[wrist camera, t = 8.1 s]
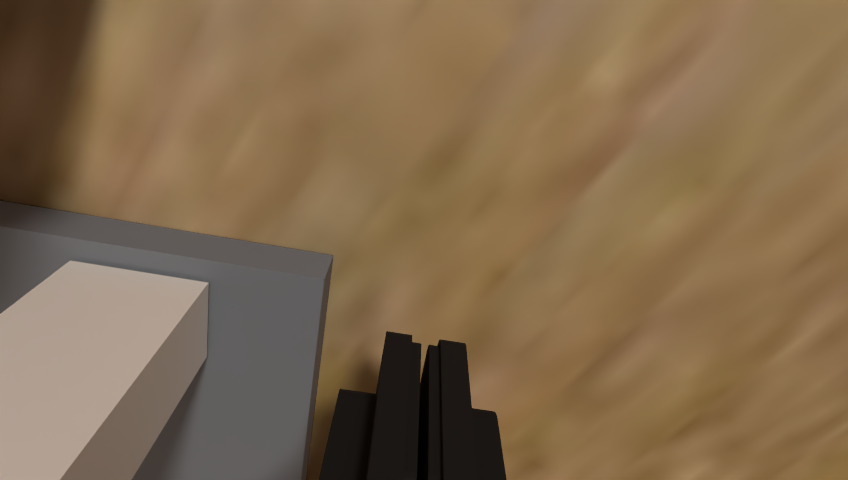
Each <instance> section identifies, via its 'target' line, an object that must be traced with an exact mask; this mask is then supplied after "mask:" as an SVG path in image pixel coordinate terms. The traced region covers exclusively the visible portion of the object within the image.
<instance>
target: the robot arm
mask: <svg viewBox="0 0 848 480" xmlns="http://www.w3.org/2000/svg"><path fill="white" fill-rule="evenodd" d="M420 367H421V344H420V343H414V342H412V335H407V334H401V333H394V332H388V331H387V332H386V337H385V343H384V349H383V355H382V361H381V366H380V372H379V378H378V384H377V389H376V394H371V393H364V392H358V391H351V390H344V389H340V390H339V394H338V398H337V403H336V407H335V411H334V416H333V420H332V424H331V429H330V433H329V438H328V442H327V446H326V451H325V455H324V460H323V464H322V468H321V473H320V477H319V480H506V474H505V467H504V460H503V453H502V447H501V440H500V433H499V426H498V420H497V415H496V413H495V412H493V411H487V410H480V409H473V408H472V406H471V395H470V384H469V373H468V362H467V351H466V344H465V343H459V342H453V341H446V340H439V342H438V346H433V345H429V346H428V349H427V354H426V358H425V363H424V368H423V373H422V377H421V382H420Z"/></svg>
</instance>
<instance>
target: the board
mask: <svg viewBox="0 0 848 480" xmlns="http://www.w3.org/2000/svg"><path fill="white" fill-rule="evenodd" d="M70 260H71V261H77V262H83V263H89V264H96V265H102V266H108V267H114V268H121V269H127V270H133V271H139V272H146V273H152V274H158V275H164V276H170V277H177V278H183V279H189V280H195V281H202V282H208V283H209V287H208V332H207V357H206V359H205V361H204V362H203V364H202V365H201V367H200V369H199V370H198V372H197V374H196V375H195V377H194V379H193V380H192V382H191V383H190V385H189V387H188V388H187V390H186V392H185V393H184V395H183V397H182V398H181V400H180V401H179V403H178V405H177V406H176V408H175V410H174V411H173V413H172V415H171V416H170V418H169V419H168V421H167V423H166V424H165V426H164V428H163V429H162V431H161V433H160V434H159V436H158V437H157V439H156V441H155V442H154V444H153V446H152V447H151V449H150V451H149V452H148V454H147V455H146V457H145V459H144V460H143V462H142V464H141V465H140V467H139V469H138V470H137V472H136V473H135V475H134V477H133V478H132V480H306V476H307V468H308V460H309V452H310V443H311V435H312V427H313V419H314V410H315V402H316V394H317V386H318V378H319V369H320V361H321V353H322V345H323V336H324V328H325V320H326V312H327V303H328V295H329V287H330V279H331V271H332V262H333V255H328V254H322V253H316V252H310V251H303V250H297V249H291V248H285V247H279V246H273V245H267V244H261V243H255V242H249V241H243V240H237V239H231V238H225V237H218V236H212V235H206V234H200V233H194V232H188V231H182V230H176V229H170V228H164V227H158V226H152V225H146V224H140V223H133V222H127V221H121V220H115V219H109V218H103V217H97V216H91V215H85V214H79V213H73V212H67V211H61V210H55V209H48V208H42V207H36V206H30V205H24V204H18V203H12V202H6V201H0V314H1V313H2V312H3V311H5V310H6V309H7V308H9V307H10V306H11V305H13V304H14V303H15V302H17V301H18V300H19V299H20V298H22V297H23V296H24V295H26V294H27V293H28V292H30V291H31V290H32V289H34V288H35V287H36V286H37V285H39V284H40V283H41V282H43V281H44V280H45V279H47V278H48V277H49V276H51V275H52V274H53V273H54V272H56V271H57V270H58V269H60V268H61V267H62V266H64V265H65V264H66V263H68V262H69V261H70Z"/></svg>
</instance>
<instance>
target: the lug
mask: <svg viewBox="0 0 848 480" xmlns="http://www.w3.org/2000/svg"><path fill="white" fill-rule="evenodd" d="M208 287H209V283H208V282H202V281H195V280H189V279H183V278H177V277H170V276H164V275H158V274H152V273H146V272H139V271H133V270H127V269H121V268H114V267H108V266H102V265H96V264H89V263H83V262H77V261H71V260H70V261H69V262H68V263H66V264H65V265H64V266H62V267H61V268H60V269H58V270H57V271H56V272H54V273H53V274H52V275H51V276H49V277H48V278H47V279H45V280H44V281H43V282H41V283H40V284H39V285H37V286H36V287H35V288H34V289H32V290H31V291H30V292H28V293H27V294H26V295H24V296H23V297H22V298H20V299H19V300H18V301H17V302H15V303H14V304H13V305H11V306H10V307H9V308H7V309H6V310H5V311H3V312H2V313H1V314H0V480H132V478H133V477H134V475H135V473H136V472H137V470H138V469H139V467H140V465H141V464H142V462H143V460H144V459H145V457H146V455H147V454H148V452H149V451H150V449H151V447H152V446H153V444H154V442H155V441H156V439H157V437H158V436H159V434H160V433H161V431H162V429H163V428H164V426H165V424H166V423H167V421H168V419H169V418H170V416H171V415H172V413H173V411H174V410H175V408H176V406H177V405H178V403H179V401H180V400H181V398H182V397H183V395H184V393H185V392H186V390H187V388H188V387H189V385H190V383H191V382H192V380H193V379H194V377H195V375H196V374H197V372H198V370H199V369H200V367H201V365H202V364H203V362H204V361H205V359H206V357H207V332H208Z"/></svg>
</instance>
